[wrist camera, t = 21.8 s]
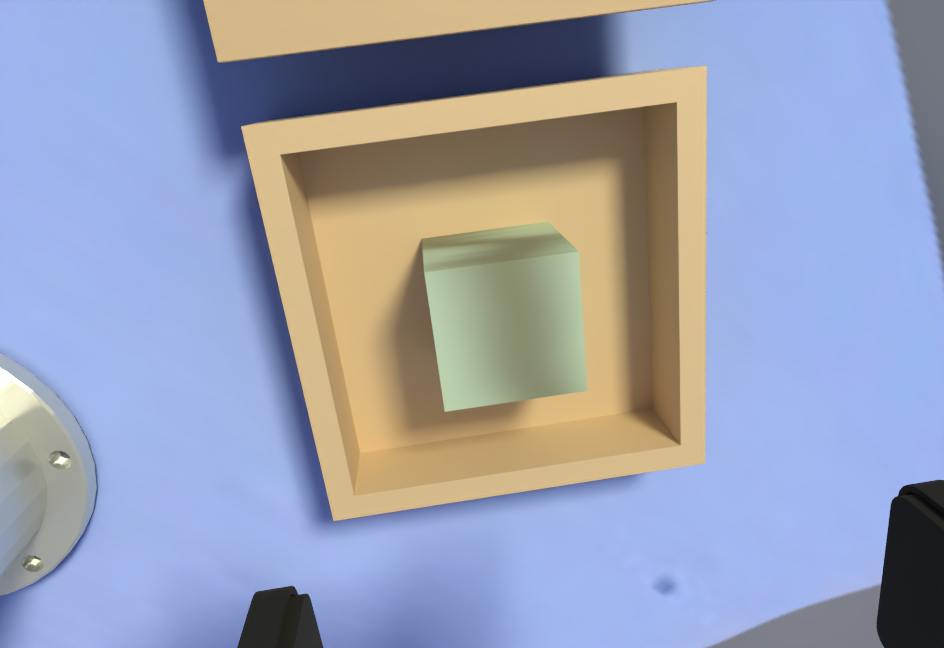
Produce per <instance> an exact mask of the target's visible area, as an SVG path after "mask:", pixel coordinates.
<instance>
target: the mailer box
mask: <svg viewBox="0 0 944 648" xmlns="http://www.w3.org/2000/svg"><path fill="white" fill-rule="evenodd" d="M241 129H242V133H243V137H244V142H245V146H246V150H247V154H248V159H249V163H250V167H251V171H252V176H253V180H254V184H255V188H256V193H257V197H258V201H259V205H260V210H261V214H262V218H263V223H264V227H265V231H266V235H267V240H268V244H269V248H270V252H271V257H272V261H273V265H274V269H275V274H276V278H277V282H278V286H279V291H280V295H281V299H282V304H283V308H284V312H285V316H286V321H287V325H288V329H289V333H290V338H291V342H292V346H293V350H294V355H295V359H296V363H297V367H298V372H299V376H300V380H301V385H302V389H303V393H304V397H305V402H306V406H307V410H308V414H309V419H310V423H311V427H312V431H313V436H314V440H315V444H316V448H317V453H318V457H319V461H320V466H321V470H322V474H323V478H324V483H325V487H326V491H327V495H328V500H329V504H330V508H331V512H332V517H333V521H338V520H344V519H351V518H357V517H364V516H370V515H376V514H383V513H389V512H396V511H402V510H408V509H415V508H421V507H428V506H434V505H441V504H447V503H453V502H460V501H466V500H473V499H479V498H486V497H492V496H498V495H505V494H511V493H518V492H524V491H531V490H537V489H543V488H550V487H556V486H563V485H569V484H575V483H582V482H588V481H595V480H601V479H608V478H614V477H620V476H627V475H633V474H640V473H646V472H653V471H659V470H665V469H672V468H678V467H685V466H691V465H697V464H704V463H705V395H706V145H707V66H696V67H682V68H669V69H659V70H651V71H643V72H636V73H628V74H620V75H612V76H605V77H597V78H589V79H582V80H574V81H566V82H559V83H551V84H543V85H536V86H528V87H520V88H513V89H505V90H497V91H490V92H482V93H474V94H466V95H459V96H451V97H443V98H436V99H428V100H420V101H413V102H405V103H397V104H390V105H382V106H374V107H367V108H359V109H351V110H344V111H336V112H328V113H320V114H313V115H305V116H297V117H290V118H282V119H274V120H267V121H262V122H258V123H254V124H249V125H245V126H241ZM541 222H549V223H550V224H551V225H552V226H553V227H554V228H555V229H556V230H557V231H558V232H559V233H560V234H561V235H563V236H564V237H565V238H566V239H567V240H568V241H569V242H570V243H571V244H572V245H573V246H574V247H575V248H576V249H577V250H578V251H579V262H580V279H581V295H582V311H583V327H584V343H585V359H586V375H587V391H583V392H576V393H569V394H563V395H556V396H549V397H542V398H535V399H528V400H522V401H515V402H508V403H501V404H494V405H488V406H481V407H474V408H467V409H460V410H454V411H447V412H445V409H444V403H443V396H442V389H441V383H440V376H439V369H438V362H437V356H436V349H435V342H434V335H433V329H432V322H431V315H430V308H429V302H428V295H427V288H426V281H425V275H424V263H423V249H422V239H423V238H430V237H438V236H445V235H453V234H460V233H467V232H475V231H482V230H489V229H497V228H504V227H512V226H519V225H526V224H534V223H541Z"/></svg>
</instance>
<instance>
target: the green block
mask: <svg viewBox="0 0 944 648" xmlns="http://www.w3.org/2000/svg"><path fill="white" fill-rule="evenodd" d="M422 249H423V263H424V275H425V281H426V288H427V295H428V302H429V308H430V315H431V322H432V329H433V335H434V342H435V349H436V356H437V362H438V369H439V376H440V383H441V389H442V396H443V403H444V409H445V412H447V411H454V410H460V409H467V408H474V407H481V406H488V405H494V404H501V403H508V402H515V401H522V400H528V399H535V398H542V397H549V396H556V395H563V394H569V393H576V392H583V391H587V375H586V359H585V343H584V327H583V311H582V295H581V279H580V262H579V251H578V250H577V249H576V248H575V247H574V246H573V245H572V244H571V243H570V242H569V241H568V240H567V239H566V238H565V237H564V236H563V235H561V234H560V233H559V232H558V231H557V230H556V229H555V228H554V227H553V226H552V225H551V224H550V223H549V222H541V223H534V224H526V225H519V226H512V227H504V228H497V229H489V230H482V231H475V232H467V233H460V234H453V235H445V236H438V237H430V238H423V239H422Z"/></svg>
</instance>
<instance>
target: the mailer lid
mask: <svg viewBox="0 0 944 648" xmlns="http://www.w3.org/2000/svg"><path fill="white" fill-rule="evenodd" d="M711 1H715V0H203V2H204V6H205V10H206V14H207V18H208V23H209V27H210V31H211V35H212V39H213V43H214V48H215V52H216V56H217V60H218V62H220V63H228V62H236V61H244V60H251V59H259V58H267V57H275V56H283V55H291V54H299V53H307V52H315V51H323V50H331V49H339V48H347V47H354V46H362V45H370V44H378V43H386V42H394V41H402V40H410V39H418V38H426V37H434V36H442V35H450V34H457V33H465V32H473V31H481V30H489V29H497V28H505V27H513V26H521V25H529V24H537V23H545V22H553V21H560V20H568V19H576V18H584V17H592V16H600V15H608V14H616V13H624V12H632V11H640V10H648V9H656V8H663V7H671V6H679V5H687V4H695V3H703V2H711Z"/></svg>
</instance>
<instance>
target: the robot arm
mask: <svg viewBox="0 0 944 648" xmlns="http://www.w3.org/2000/svg"><path fill="white" fill-rule="evenodd" d="M96 490H97V485H96V473H95V463H94V460H93V457H92V454H91V451H90V448H89V444H88V441H87V439H86V437H85V435H84V433H83V432H82V430H81V428H80V426H79V424H78V423H77V421H76V419H75V417H74V415H73V414H72V413H71V412H70V411H69V409H68V408H67V407H66V406H65V405H64V403H63V402H62V401H61V400H60V398H59V397H58V396H57V395H56V394H55V392H53V391H52V390H51V389H50V388H49V387H48V386H46V385H45V384H44V383H43V382H42V381H41V380H40V379H38V378H37V377H36V376H35V375H34V374H33V373H32V372H30V371H29V370H27V369H25V368H24V367H22V366H21V365H19V364H18V363H16V362H14V361H13V360H11V359H10V358H8V357H6V356H5V355H3V354H1V353H0V596H2V595H6V594H10V593H12V592H15V591H17V590H19V589H22V588H24V587H26V586H29V585H31V584H33V583H35V582H36V581H38V580H39V579H41V578H42V577H43V576H45V575H46V574H48V573H49V572H51V571H52V570H54V569H55V568H56V566H57V565H58V564H59V563H60V562H61V561H62V560H63V559H64V558H65V557H66V556H67V555H68V554H69V553H70V551H71V550H72V548H73V547H74V546H75V544H76V543H77V541H78V540H79V539H80V537H81V536H82V534H83V533H84V531H85V529H86V527H87V524H88V522H89V520H90V517H91V515H92V513H93V509H94V503H95V496H96ZM877 632H878V635H879V638H880V641H881V642H882V644H883V646H884V648H944V480H935V481H929V482H923V483H917V484H911V485H906V486H903V487H902V488H901V490H900V491H899V495H898V496H897V497H895V498H894V499H893V500H892V503H891V509H890V517H889V525H888V534H887V542H886V550H885V558H884V567H883V575H882V583H881V592H880V600H879V609H878V617H877ZM237 648H323V645H322V641H321V637H320V634H319V630H318V626H317V622H316V618H315V615H314V611H313V607H312V603H311V600H310V597H309V595H308V594H301V595H298V593H297V591H296V589H295V587H294V586H289V587H283V588H277V589H270V590H264V591H258V592H256V593H255V594H254V596H253V598H252V601H251V605H250V608H249V611H248V614H247V618H246V621H245V624H244V628H243V631H242V634H241V638H240V641H239V644H238V647H237Z"/></svg>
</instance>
